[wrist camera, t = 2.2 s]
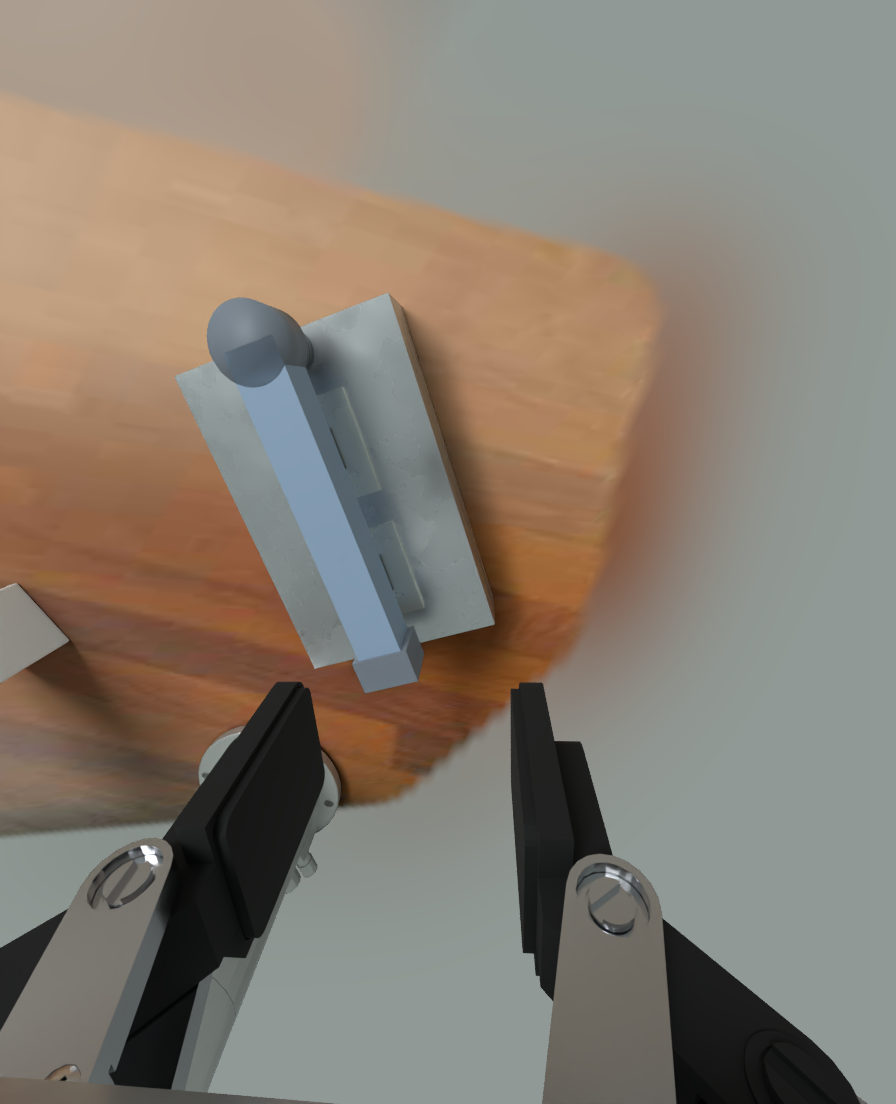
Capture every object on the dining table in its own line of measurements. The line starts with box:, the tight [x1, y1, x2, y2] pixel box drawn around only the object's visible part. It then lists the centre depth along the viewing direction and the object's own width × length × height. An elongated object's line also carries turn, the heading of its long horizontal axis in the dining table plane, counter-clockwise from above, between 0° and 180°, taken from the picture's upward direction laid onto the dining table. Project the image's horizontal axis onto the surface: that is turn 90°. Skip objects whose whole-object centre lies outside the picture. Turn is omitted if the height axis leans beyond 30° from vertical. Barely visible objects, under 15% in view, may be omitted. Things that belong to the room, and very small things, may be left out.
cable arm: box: [207, 298, 424, 693], centre depth 24 cm, size 20×4×3 cm, turn 18°
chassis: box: [175, 293, 495, 668], centre depth 28 cm, size 20×13×6 cm, turn 18°
